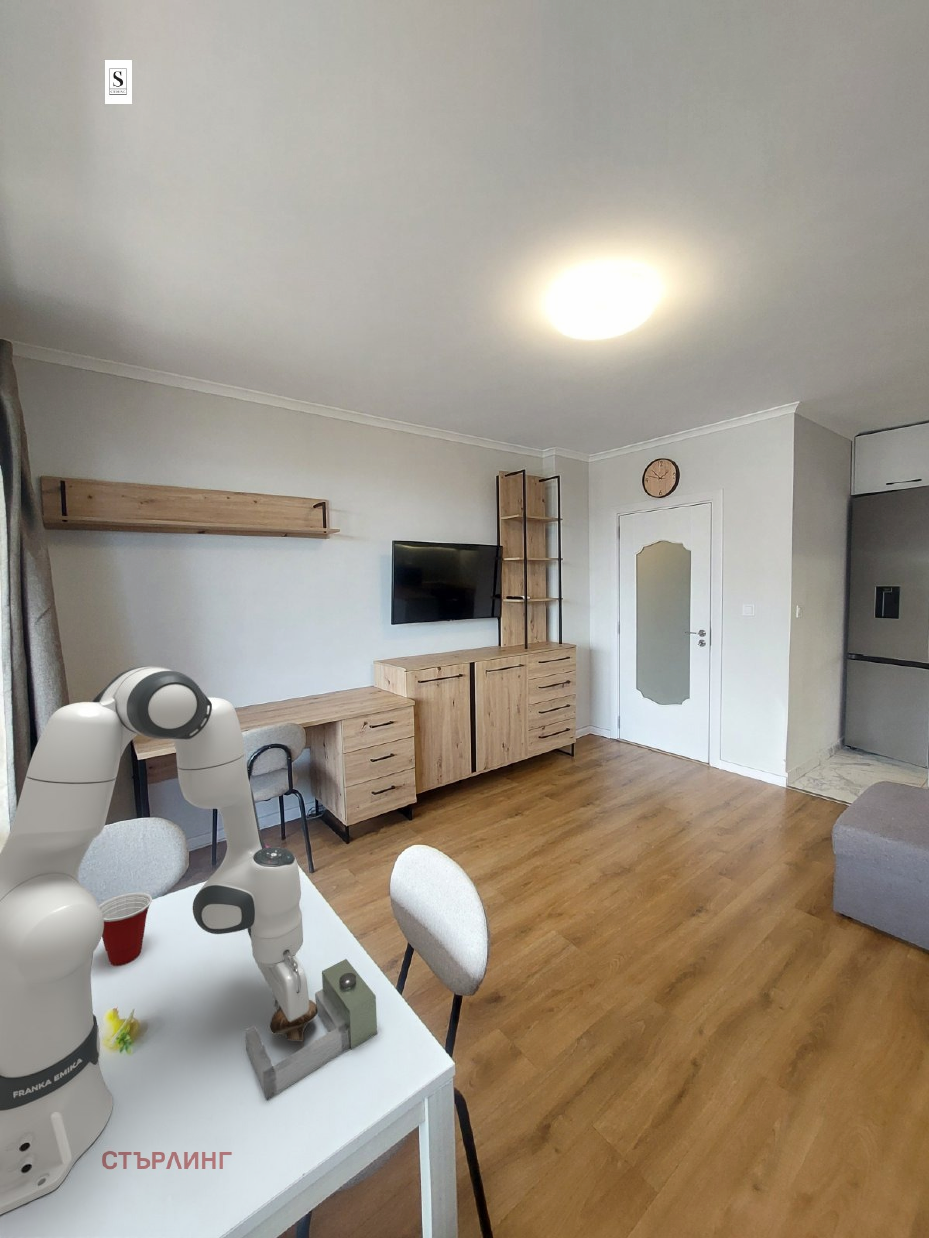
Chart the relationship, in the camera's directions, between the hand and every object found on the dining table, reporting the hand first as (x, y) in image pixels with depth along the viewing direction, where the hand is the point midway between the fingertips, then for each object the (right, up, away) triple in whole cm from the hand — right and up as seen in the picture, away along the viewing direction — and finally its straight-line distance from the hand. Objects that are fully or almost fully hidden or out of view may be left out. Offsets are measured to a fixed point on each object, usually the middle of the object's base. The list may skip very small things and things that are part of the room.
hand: (281, 1009), depth 94 cm
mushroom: (+4, -2, -3) cm, 5 cm away
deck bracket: (+7, -2, -5) cm, 9 cm away
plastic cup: (-41, -2, +18) cm, 45 cm away
